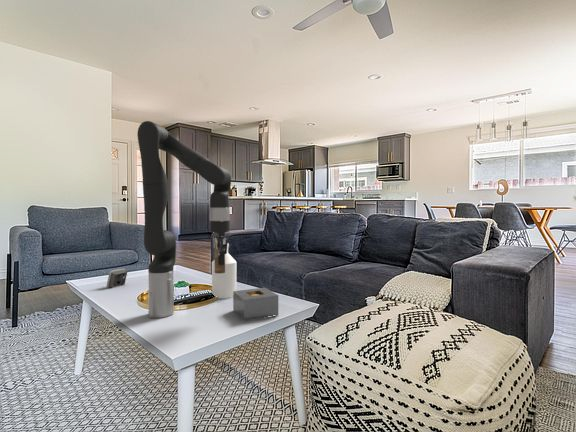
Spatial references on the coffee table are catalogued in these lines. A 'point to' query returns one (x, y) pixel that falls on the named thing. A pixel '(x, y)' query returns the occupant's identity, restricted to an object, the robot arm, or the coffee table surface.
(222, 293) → the bottle
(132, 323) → the coffee table surface
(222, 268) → the brown wooden block
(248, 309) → the box
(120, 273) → the electrical switch
